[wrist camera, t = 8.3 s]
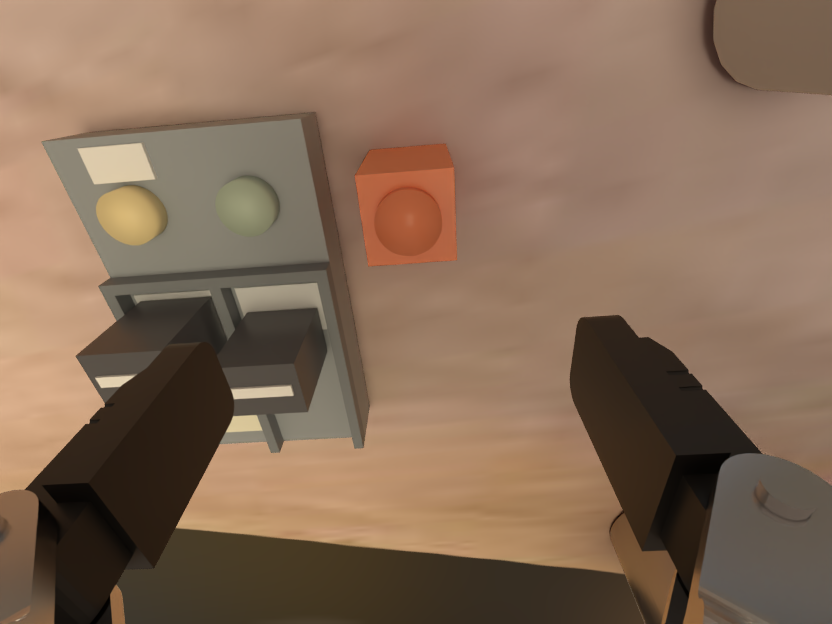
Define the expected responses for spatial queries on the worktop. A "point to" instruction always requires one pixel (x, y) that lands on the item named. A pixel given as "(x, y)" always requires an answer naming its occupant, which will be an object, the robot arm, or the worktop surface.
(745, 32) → the can
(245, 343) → the breaker
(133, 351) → the block
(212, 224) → the breaker panel
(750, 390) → the worktop surface
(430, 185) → the cap
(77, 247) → the worktop surface
